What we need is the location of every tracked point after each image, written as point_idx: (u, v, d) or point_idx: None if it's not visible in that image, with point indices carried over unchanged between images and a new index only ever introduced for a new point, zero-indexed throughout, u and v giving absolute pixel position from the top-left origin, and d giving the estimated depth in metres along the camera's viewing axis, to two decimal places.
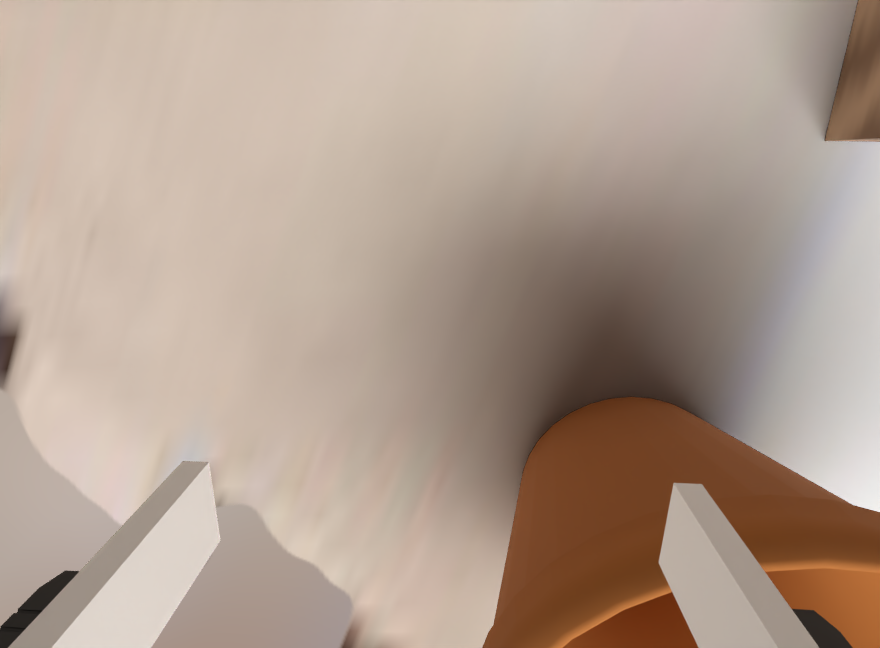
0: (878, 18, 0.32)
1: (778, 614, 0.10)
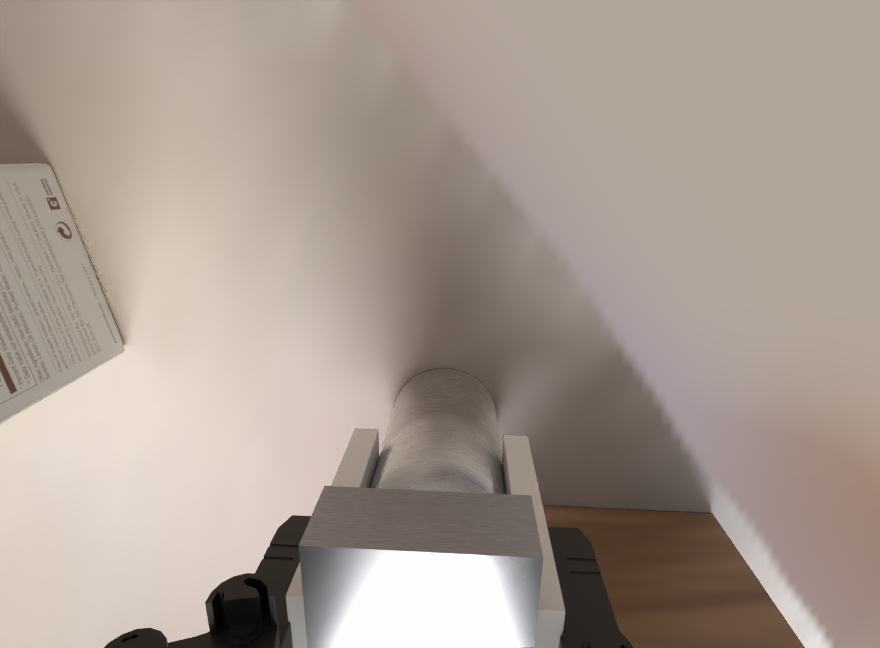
0: None
1: None
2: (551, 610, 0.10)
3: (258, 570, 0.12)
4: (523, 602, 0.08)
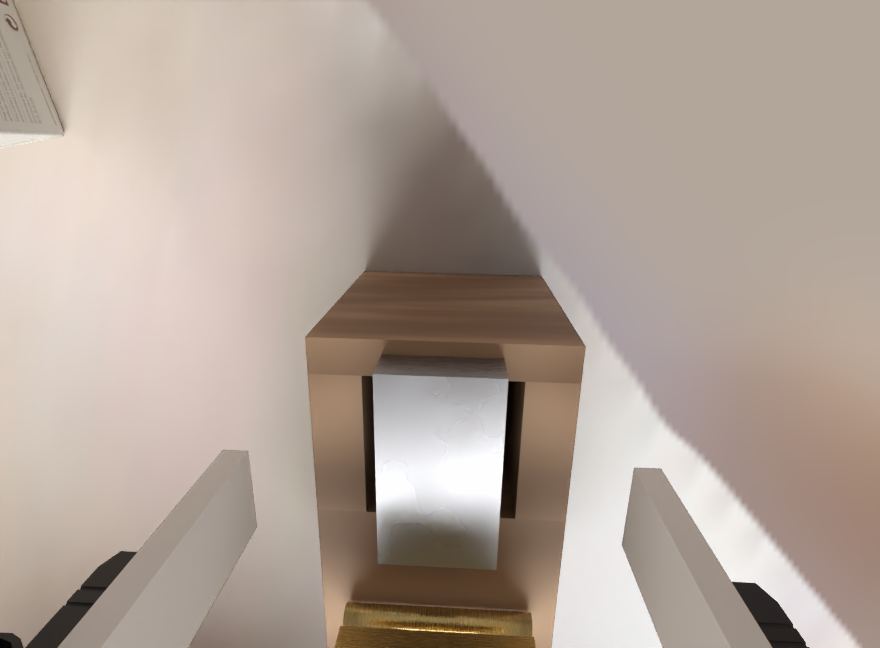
0: None
1: (717, 585, 0.10)
2: None
3: (54, 619, 0.10)
4: (498, 407, 0.15)
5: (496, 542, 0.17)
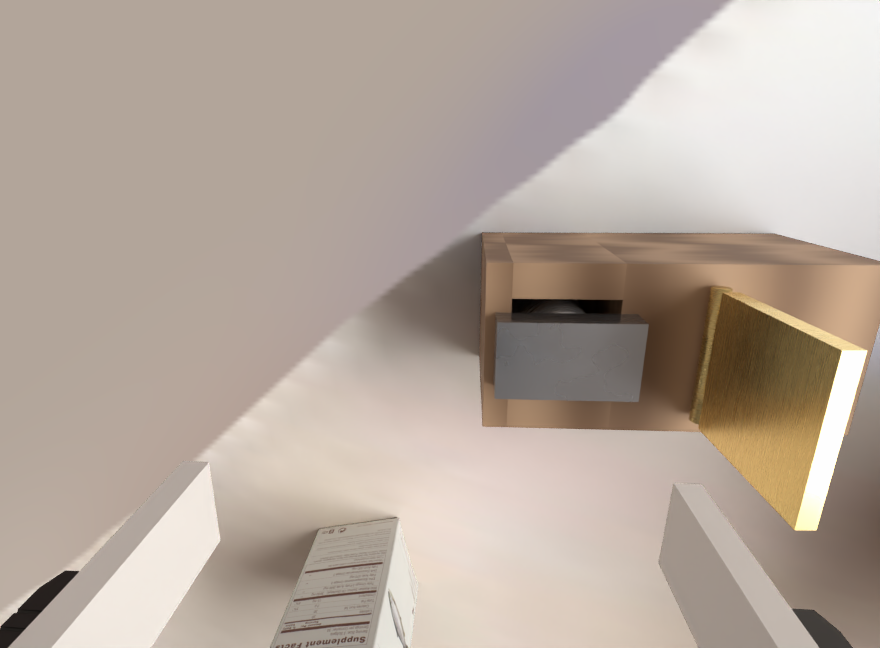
0: None
1: (778, 614, 0.10)
2: None
3: None
4: (516, 327, 0.24)
5: (623, 325, 0.24)
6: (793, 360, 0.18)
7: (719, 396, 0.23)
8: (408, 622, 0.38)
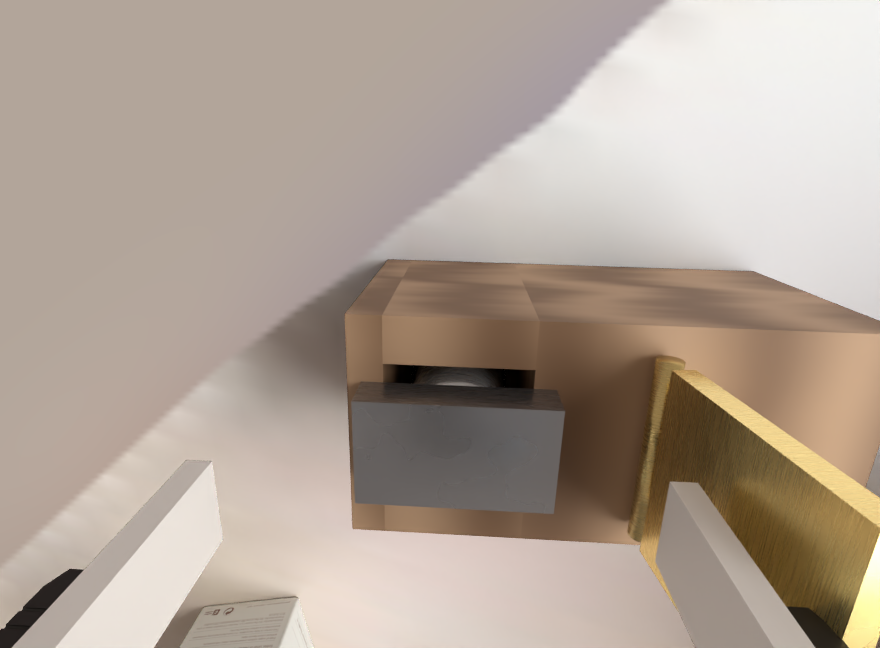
0: None
1: (773, 611, 0.10)
2: None
3: None
4: (379, 409, 0.17)
5: (529, 411, 0.16)
6: (786, 510, 0.11)
7: None
8: None
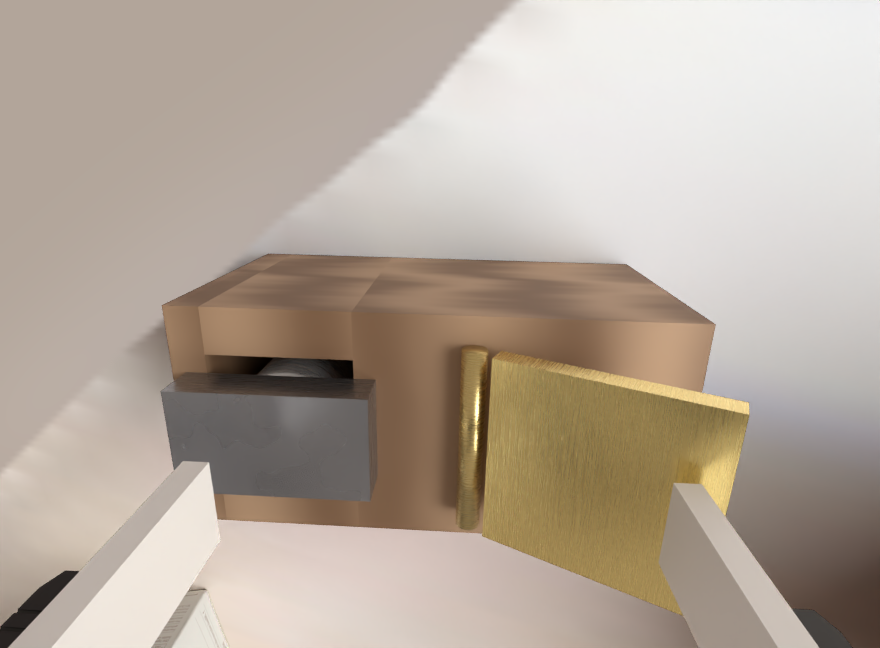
0: None
1: (778, 614, 0.10)
2: None
3: None
4: (188, 399, 0.17)
5: (332, 400, 0.17)
6: (660, 433, 0.14)
7: (517, 492, 0.17)
8: None
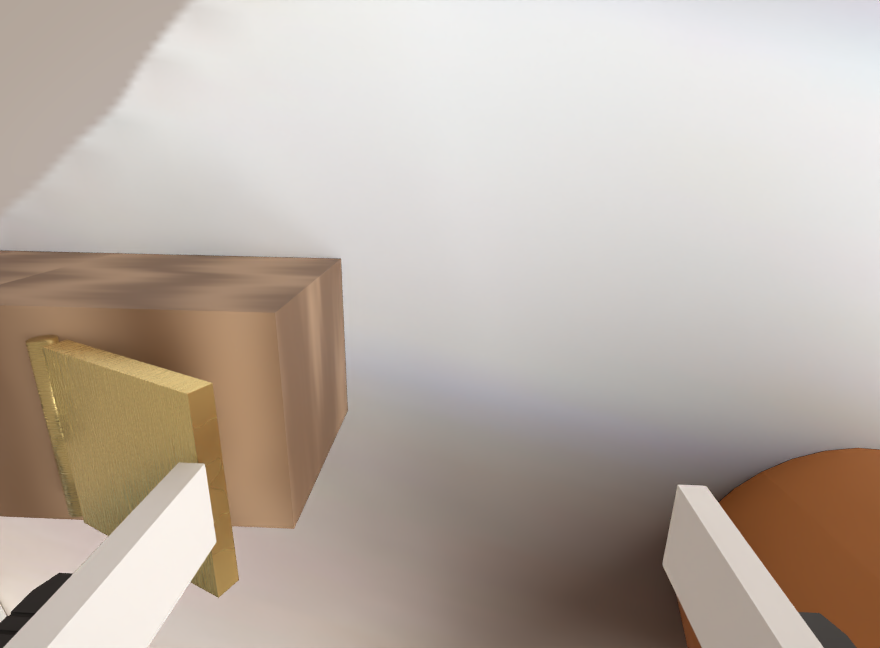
0: None
1: (784, 617, 0.10)
2: None
3: None
4: None
5: None
6: (147, 415, 0.15)
7: (91, 477, 0.18)
8: None
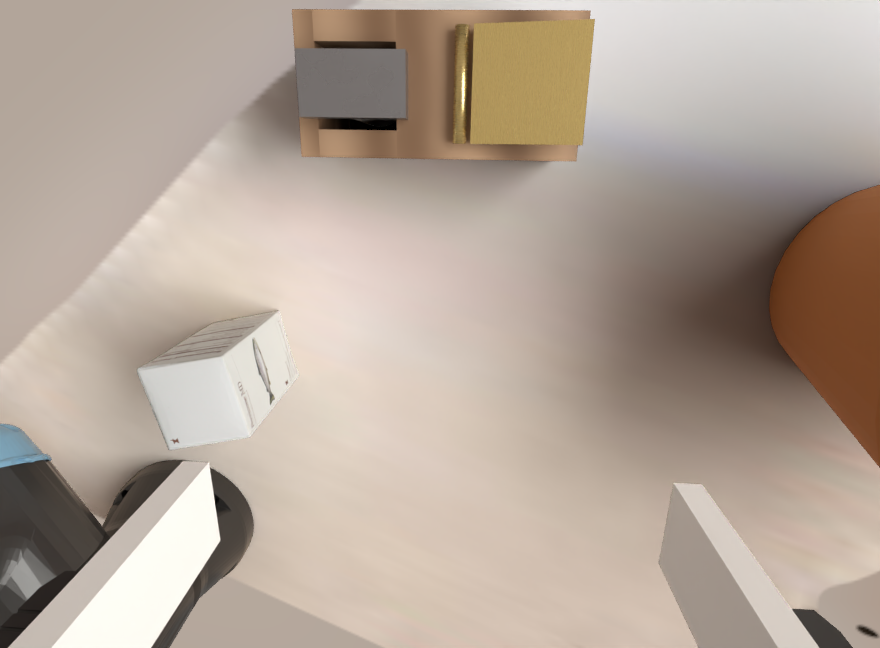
0: None
1: (778, 614, 0.10)
2: None
3: None
4: (309, 52, 0.32)
5: (387, 49, 0.32)
6: (558, 42, 0.31)
7: (490, 104, 0.33)
8: (278, 382, 0.46)
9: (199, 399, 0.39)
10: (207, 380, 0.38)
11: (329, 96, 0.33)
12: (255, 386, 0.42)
